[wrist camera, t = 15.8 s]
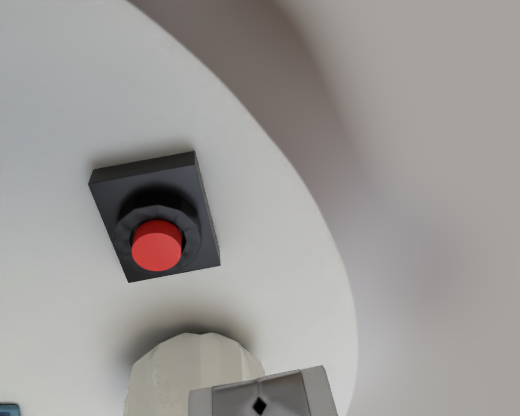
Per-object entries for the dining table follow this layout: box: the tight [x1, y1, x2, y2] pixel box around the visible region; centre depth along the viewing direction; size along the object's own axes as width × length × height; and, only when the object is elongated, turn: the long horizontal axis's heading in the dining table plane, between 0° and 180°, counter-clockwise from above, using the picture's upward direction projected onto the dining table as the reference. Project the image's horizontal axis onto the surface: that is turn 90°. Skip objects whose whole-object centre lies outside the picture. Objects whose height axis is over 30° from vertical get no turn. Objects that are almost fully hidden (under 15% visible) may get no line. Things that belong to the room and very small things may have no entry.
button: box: [132, 220, 182, 271], centre depth 36 cm, size 4×4×2 cm
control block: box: [88, 151, 221, 283], centre depth 38 cm, size 10×8×4 cm
